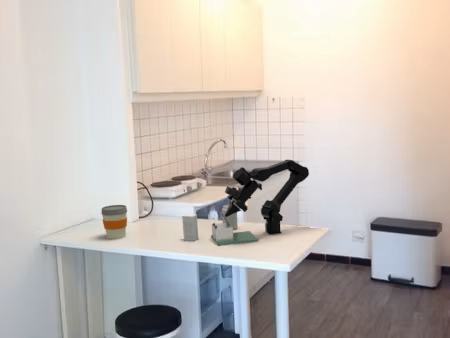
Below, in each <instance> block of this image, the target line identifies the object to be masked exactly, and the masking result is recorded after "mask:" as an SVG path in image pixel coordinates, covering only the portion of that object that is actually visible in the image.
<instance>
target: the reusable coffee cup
mask: <svg viewBox="0 0 450 338" xmlns="http://www.w3.org/2000/svg"><path fill="white" fill-rule="evenodd" d="M127 212H128V208H127V205H124V204H111V205H106V206H104V207H102V208H101V215H102V224H103V227H104V230H105V233H106V238H107V239H108V240H119V239H123V238H125V237H126V232H127V231H126V230H127V228H126V227H127V226H128V217H127Z"/></svg>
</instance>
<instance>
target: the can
mask: <svg viewBox="0 0 450 338" xmlns="http://www.w3.org/2000/svg"><path fill="white" fill-rule="evenodd" d="M228 207H229V204H224V205H223V206H222V208H221V212H222V213H223V215H224V216H225V213H226V211H227V209H228ZM221 216H222V215H221ZM225 218H226V219H227V221H228V222H229V224H230V225H231V226H232V227H233V231H235V230H236V229H237V228H238V227H239V226H238V212H236V213H234V214H232V215H230V216H228V217H225ZM222 223H227V222H226V221H225V219H224V218H223V216H222Z"/></svg>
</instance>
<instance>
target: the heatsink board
mask: <svg viewBox="0 0 450 338" xmlns="http://www.w3.org/2000/svg"><path fill="white" fill-rule="evenodd" d="M211 239H212V240H213V241H214V243H215V244H216V245H217V246H228V245H237V244H239V245H240V244H247V243H256V242H259V239H258V238H257V236H255V235H254V234H253V233H252V232H251V231H250V230H248V231H238V232H237V231H236V232H234V230H233V227H232V226H231V225H228V224H227V223H223V222H220V223H215V222H212V223H211Z"/></svg>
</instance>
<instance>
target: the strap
mask: <svg viewBox="0 0 450 338" xmlns="http://www.w3.org/2000/svg"><path fill="white" fill-rule="evenodd" d="M219 213H220V215H221V216H223V218H224V219H225V221H226V222H227V224H228V225H230V224H229V222H228V221H227V219H226V218H225V216H224V215H223V213H222V211H219ZM223 218H222V219H223Z"/></svg>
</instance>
